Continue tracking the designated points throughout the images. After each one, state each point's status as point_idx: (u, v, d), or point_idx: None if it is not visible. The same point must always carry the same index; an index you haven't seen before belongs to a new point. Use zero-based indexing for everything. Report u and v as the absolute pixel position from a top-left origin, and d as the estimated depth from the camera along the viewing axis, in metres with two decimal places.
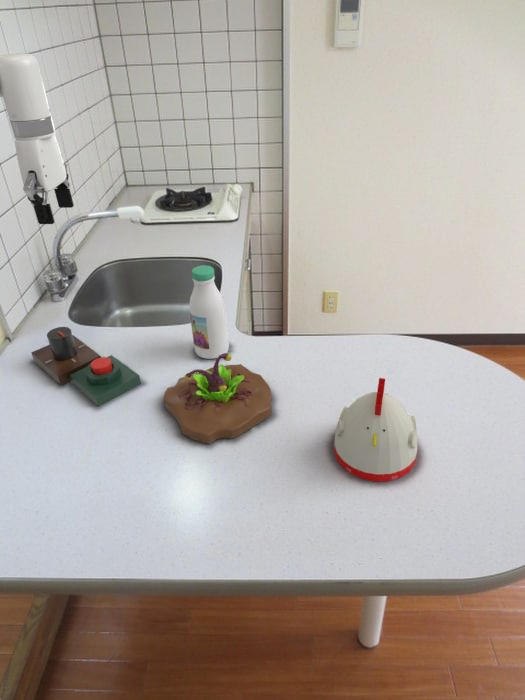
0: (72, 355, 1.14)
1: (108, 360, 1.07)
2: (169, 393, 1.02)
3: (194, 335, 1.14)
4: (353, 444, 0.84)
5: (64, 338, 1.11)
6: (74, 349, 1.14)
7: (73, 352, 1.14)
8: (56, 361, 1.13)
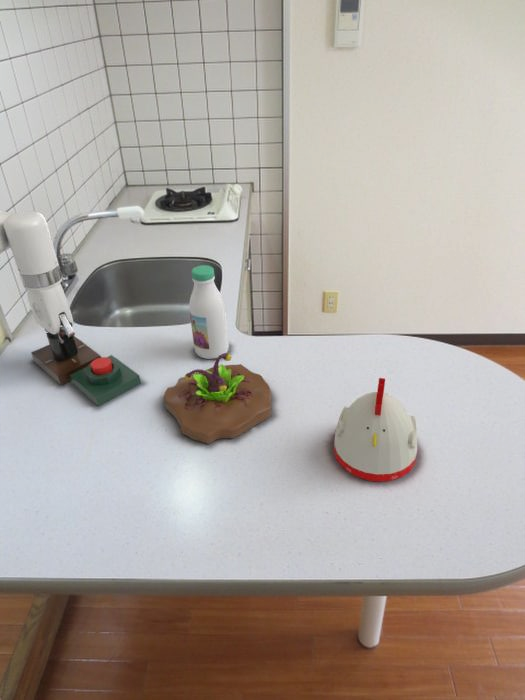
0: None
1: (108, 360, 1.07)
2: (169, 393, 1.02)
3: (194, 335, 1.14)
4: (353, 444, 0.84)
5: None
6: None
7: None
8: (56, 361, 1.13)
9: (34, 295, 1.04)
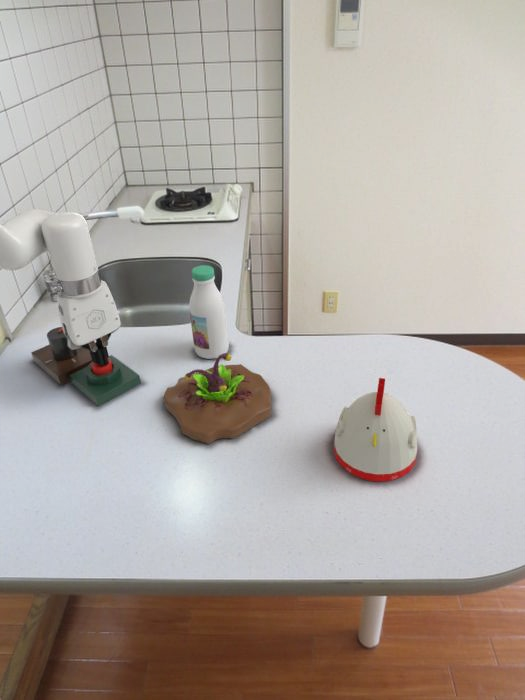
0: None
1: (108, 360, 1.07)
2: (169, 393, 1.02)
3: (194, 335, 1.14)
4: (353, 444, 0.84)
5: None
6: None
7: None
8: (56, 361, 1.13)
9: (95, 299, 0.97)
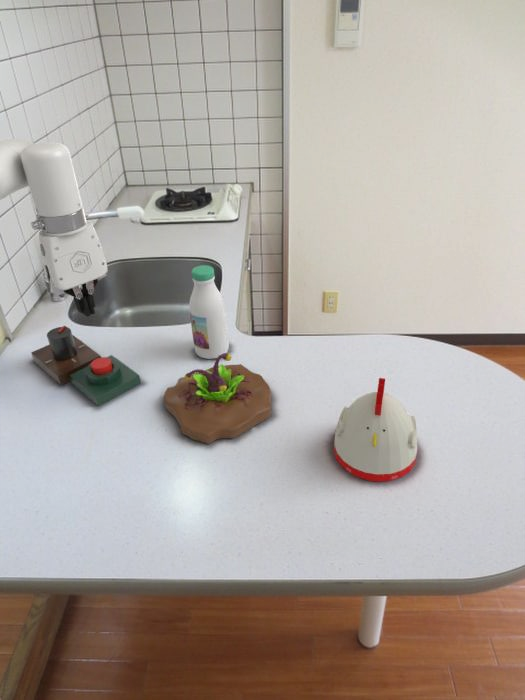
0: None
1: (108, 360, 1.07)
2: (169, 393, 1.02)
3: (194, 335, 1.14)
4: (353, 444, 0.84)
5: None
6: None
7: None
8: (56, 361, 1.13)
9: (79, 239, 0.90)
